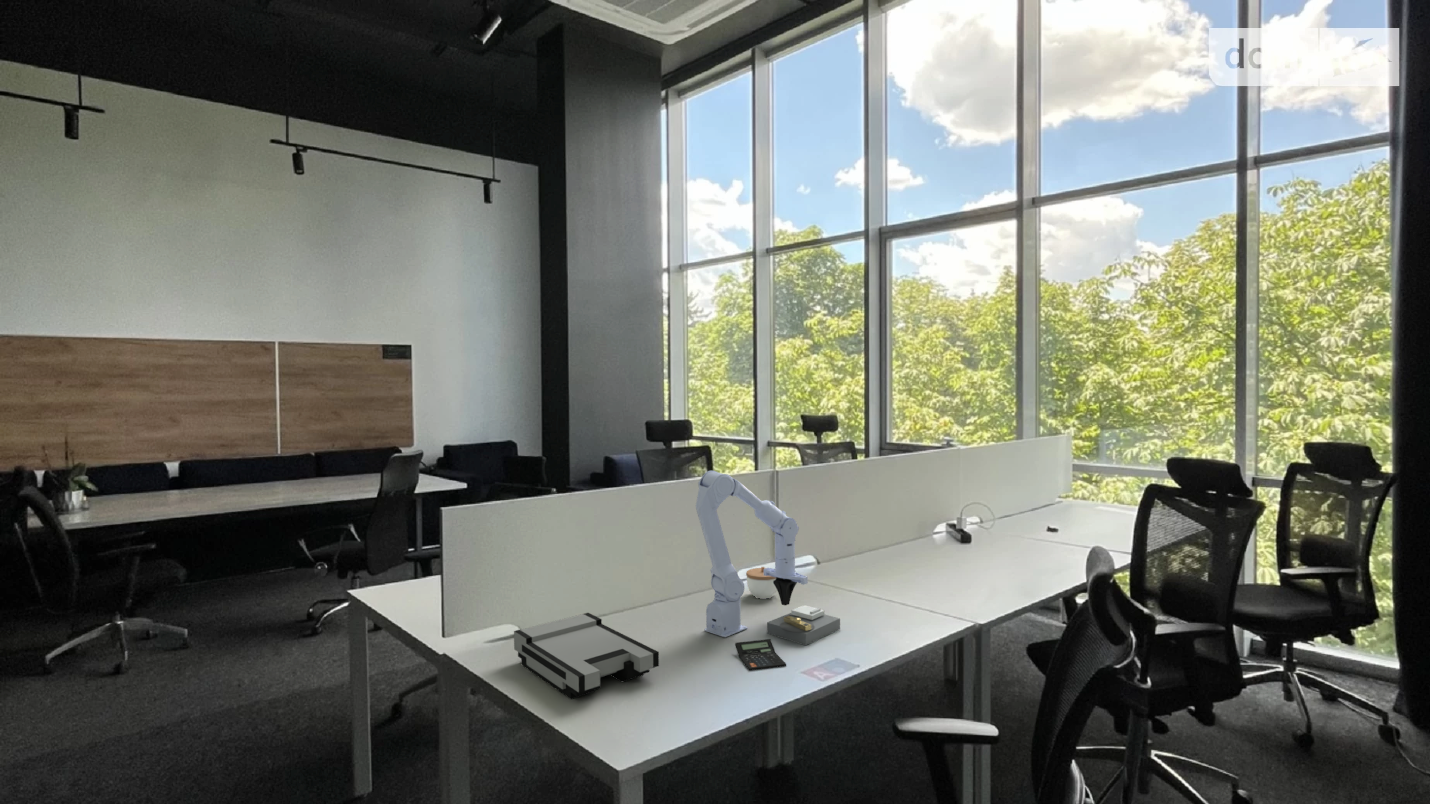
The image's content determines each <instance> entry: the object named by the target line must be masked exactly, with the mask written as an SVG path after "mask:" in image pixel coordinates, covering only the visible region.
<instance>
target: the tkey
mask: <svg viewBox="0 0 1430 804" xmlns="http://www.w3.org/2000/svg"><path fill="white" fill-rule="evenodd" d="M784 622H786V623H789V624H791V625H793V626H795V627H798V628H800V629H802V630H804V631H807V630H811V625H810V624H808V623H806V622H803V621H801V618H798V617H796V618H794V617H791V616H786V617H784Z"/></svg>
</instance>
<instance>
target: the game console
mask: <svg viewBox="0 0 1430 804" xmlns="http://www.w3.org/2000/svg"><path fill="white" fill-rule="evenodd" d="M602 621H603V619H602V618H600V617H598V616H596V615H594V614H591V613H590V612H585V613H581V614H578V615H574V616H569V617H564V618H560V619H557V620H553V621H547V622H544V623H541V624H538V625H537V624H536V625H532V626H529V627H525V628H521V629H517V630H513V649H514V651H516V653H517V657H518V658H519V659H521V662H520V663H521V664H522V665H523V667H524V668H525V667H526V668H525V669H527V668H528V669H529V670H528V669H527V670H528V671H530V672H531V671H532V672H531V673H533V674H534V675H535V676H537V677H538V676H539V677H538V678H539V679H541V678H542V680H543V681H544V682H545V681H546V682H545V683H547V684H548V685H550V686H551V687H553V688H554V689H555V688H556V689H555V690H557V691H558V692H560V693H561V694H563V695H564V696H565V697H567V698H568V699H570V700H572V698H573V699H576V698H578V697H582V696H584V695H588V694H591V693H594V692H595V691H597V690H599V689H601V678H603V677H605V676H611V675H612V676H611V677H613V676H614V677H615V678H614V677H613V678H614V679H616V678H617V679H616V680H618V681H619V680H620V682H621V681H624V682H626V680H627V681H629V679H630V680H632V679H631V678H633V679H636V678H638V676H639V677H640V676H641V675H642V676H644V674H648V673H650V670H651V669H654V668H657V667H659V666H660V663H659V662H660V659H659V656H660V655H659V654H660V653H659V651H658V650H656V649H653V648H652V647H650V646H648V645H645V644H644V643H642V642H639V641H637V640H636V639H633V638H631V637H630V636H627V635H625V634H623V633H621V632H619V631H617V630H615V629H614V628H611V627H609V626H607V625H605V624H603V623H602ZM522 665H521V666H522ZM642 676H641V677H642ZM635 677H636V678H635Z"/></svg>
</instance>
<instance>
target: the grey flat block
mask: <svg viewBox="0 0 1430 804" xmlns="http://www.w3.org/2000/svg"><path fill="white" fill-rule="evenodd" d="M786 616H791V617H794V618H796V617H798V618H801V621H803V622H806V623H808V624H810V625H811V630H807V631H804V630H802V629H800V628H798V627H795V626H793V625H791V624H789V623H786V622H784V617H786ZM839 630H841V618H840V617H836V616H833V615H829V614H825V613H824V615H822V616H820V617H818V618H816V619H813V620H810V619H806V618H803V617H799V616H795V615H792V614H791V612H789V613H787V614H785V615H782V616H780V617H777V618H774V619H772V620H770V621H767V622H766V634H768V635H770V636H771V635H772V636H774V637H778V638H781V639H785V640H788V641H790V642H794V643H797V644H801V645H804V646H807V645H809V644H812V643H814V642H816V641H818V640H820V639H822V638H824V637H826V636H829V635H831V634H833V633H835V632H837V631H839Z"/></svg>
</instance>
